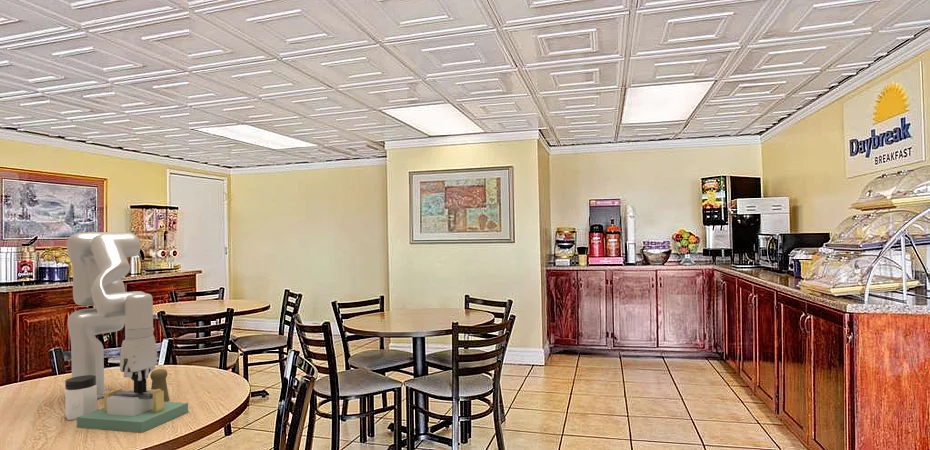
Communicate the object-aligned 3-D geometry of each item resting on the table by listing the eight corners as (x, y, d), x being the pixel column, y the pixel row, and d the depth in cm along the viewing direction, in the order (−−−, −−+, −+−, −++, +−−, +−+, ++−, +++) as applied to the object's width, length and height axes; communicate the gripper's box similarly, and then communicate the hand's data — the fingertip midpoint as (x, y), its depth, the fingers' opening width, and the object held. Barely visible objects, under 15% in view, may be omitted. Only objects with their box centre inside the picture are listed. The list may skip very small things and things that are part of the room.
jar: (59, 421, 170) (58, 382, 170) (71, 413, 178) (71, 376, 178) (91, 418, 172) (90, 380, 172) (102, 410, 180) (101, 374, 180)
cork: (160, 404, 184) (159, 372, 184) (145, 404, 185) (144, 371, 185) (173, 399, 190) (172, 367, 190) (158, 398, 191) (157, 367, 191)
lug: (150, 412, 166) (150, 391, 166) (158, 409, 169) (158, 388, 169) (156, 413, 165) (155, 391, 166) (164, 410, 168) (163, 389, 168)
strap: (114, 397, 169) (114, 391, 169) (123, 394, 172) (123, 388, 172) (149, 399, 166) (149, 393, 166) (157, 396, 169) (157, 390, 169)
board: (77, 427, 164) (76, 399, 164) (128, 408, 181) (127, 382, 181) (141, 432, 158) (141, 403, 158) (188, 412, 175) (187, 385, 175)
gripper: (149, 328, 177) (149, 385, 177) (108, 337, 163) (109, 399, 163) (168, 329, 175) (168, 386, 175) (128, 338, 161) (129, 400, 161)
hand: (140, 392), depth 169 cm, fingers closed
